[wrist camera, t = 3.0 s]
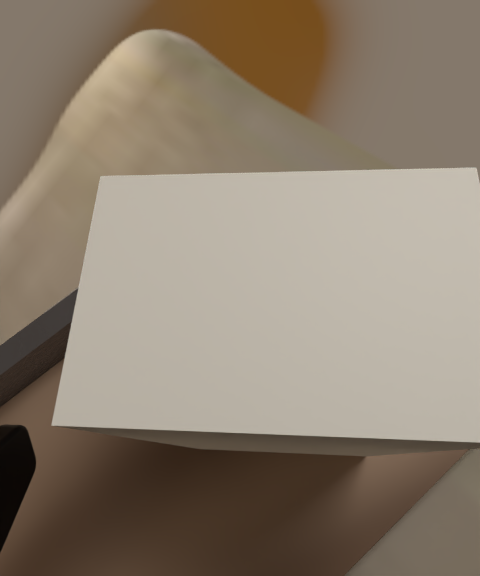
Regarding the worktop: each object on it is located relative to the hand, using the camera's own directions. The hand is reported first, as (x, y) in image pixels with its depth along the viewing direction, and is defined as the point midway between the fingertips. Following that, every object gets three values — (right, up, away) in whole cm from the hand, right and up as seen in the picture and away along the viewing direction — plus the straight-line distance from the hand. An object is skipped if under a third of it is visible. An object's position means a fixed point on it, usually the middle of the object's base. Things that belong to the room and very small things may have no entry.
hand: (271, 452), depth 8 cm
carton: (+1, -1, +9) cm, 9 cm away
